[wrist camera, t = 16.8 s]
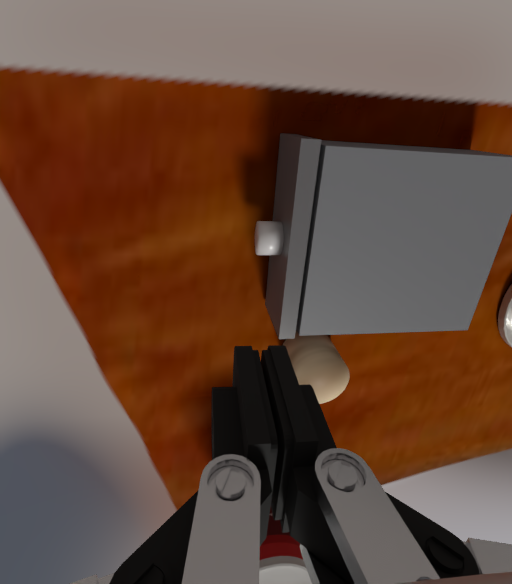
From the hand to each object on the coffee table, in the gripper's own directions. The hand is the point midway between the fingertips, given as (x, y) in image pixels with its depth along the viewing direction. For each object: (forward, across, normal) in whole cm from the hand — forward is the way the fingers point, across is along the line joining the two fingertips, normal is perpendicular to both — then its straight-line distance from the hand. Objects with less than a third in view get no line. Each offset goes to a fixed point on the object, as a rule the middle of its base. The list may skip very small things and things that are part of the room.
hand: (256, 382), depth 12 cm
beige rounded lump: (+18, -8, +12) cm, 23 cm away
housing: (+19, -12, 0) cm, 22 cm away
